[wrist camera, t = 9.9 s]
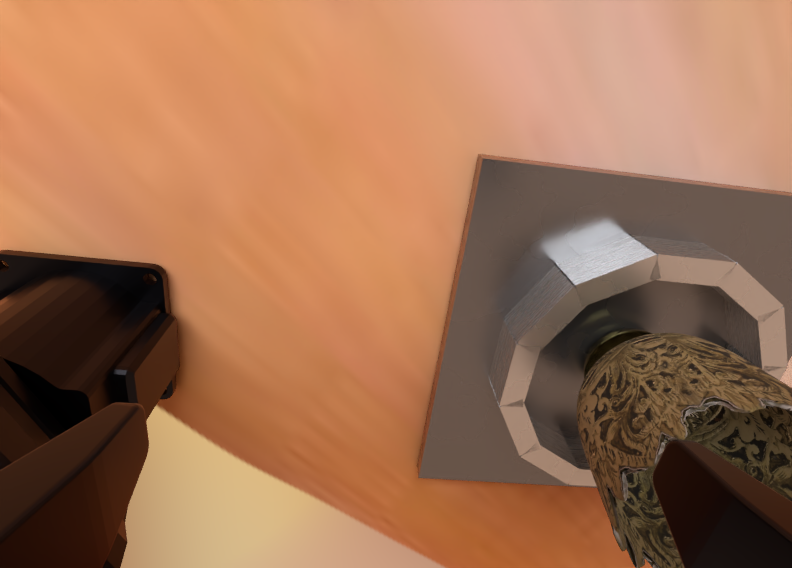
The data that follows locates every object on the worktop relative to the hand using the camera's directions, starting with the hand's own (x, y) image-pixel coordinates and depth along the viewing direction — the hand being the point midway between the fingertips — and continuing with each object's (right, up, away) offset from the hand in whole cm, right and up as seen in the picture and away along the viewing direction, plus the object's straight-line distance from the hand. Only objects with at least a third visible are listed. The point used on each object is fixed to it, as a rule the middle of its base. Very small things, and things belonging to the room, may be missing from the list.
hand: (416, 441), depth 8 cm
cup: (+10, 0, +13) cm, 16 cm away
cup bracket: (+10, 0, +14) cm, 17 cm away
